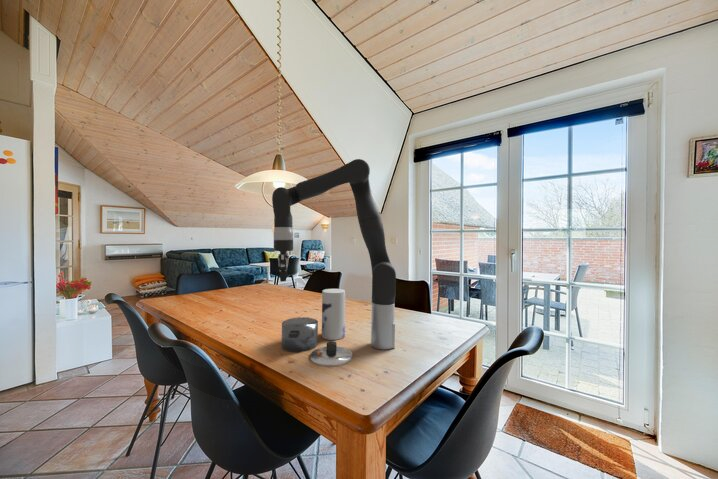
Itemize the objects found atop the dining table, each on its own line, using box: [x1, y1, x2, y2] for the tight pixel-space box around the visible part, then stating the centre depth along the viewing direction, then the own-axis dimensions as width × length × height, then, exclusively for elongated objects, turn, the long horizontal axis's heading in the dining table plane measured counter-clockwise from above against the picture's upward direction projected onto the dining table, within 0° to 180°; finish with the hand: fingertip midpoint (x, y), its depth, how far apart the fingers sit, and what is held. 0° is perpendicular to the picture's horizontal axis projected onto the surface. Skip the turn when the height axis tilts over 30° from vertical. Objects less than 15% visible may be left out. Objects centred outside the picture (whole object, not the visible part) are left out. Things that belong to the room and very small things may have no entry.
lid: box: [309, 340, 353, 367], centre depth 101 cm, size 15×15×5 cm
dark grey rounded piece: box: [281, 316, 319, 353], centre depth 111 cm, size 21×14×9 cm, turn 178°
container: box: [321, 288, 346, 341], centre depth 122 cm, size 10×10×20 cm
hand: (283, 279), depth 111 cm, fingers open, 8 cm apart
